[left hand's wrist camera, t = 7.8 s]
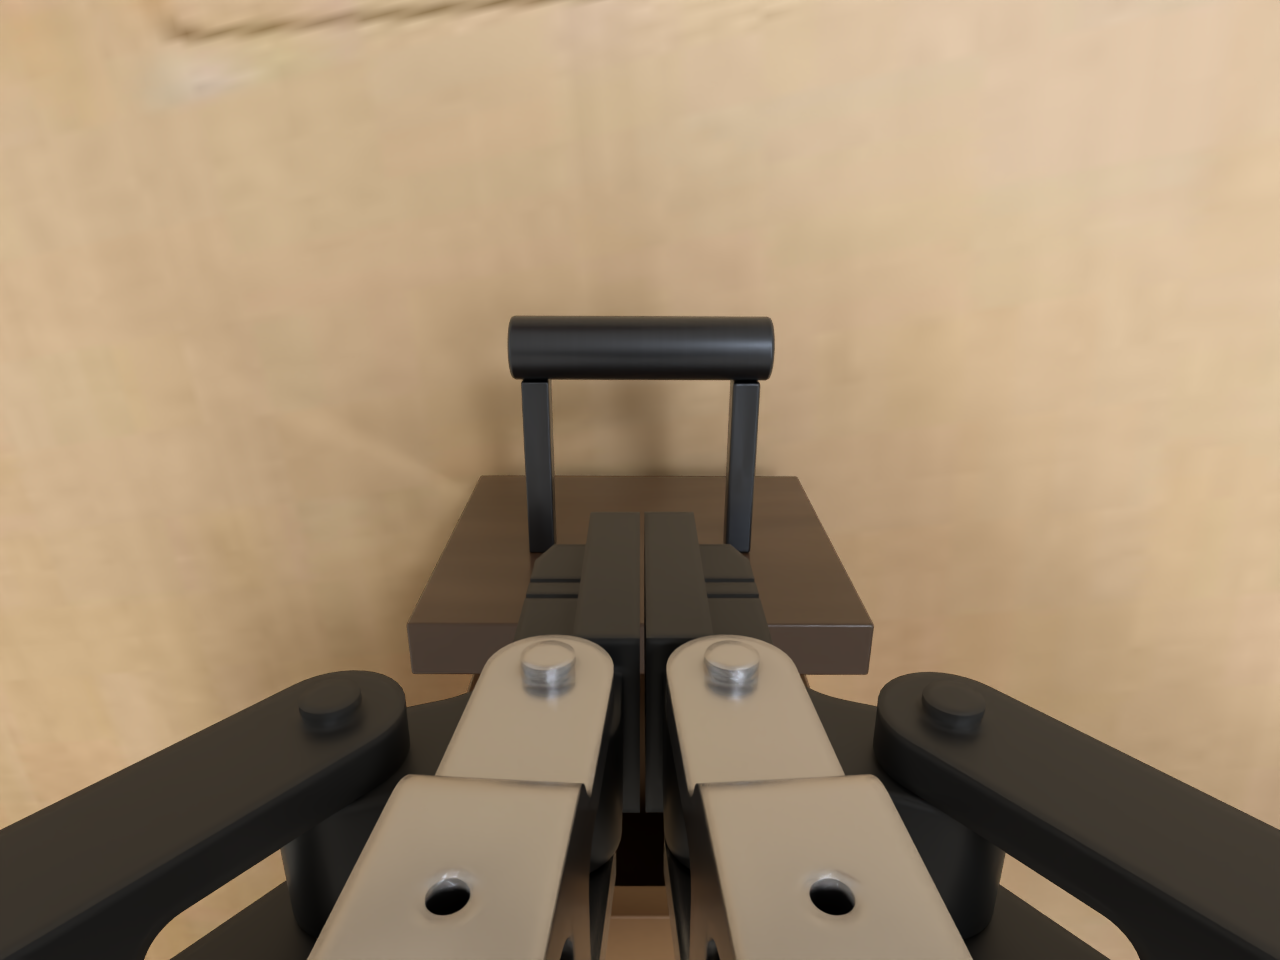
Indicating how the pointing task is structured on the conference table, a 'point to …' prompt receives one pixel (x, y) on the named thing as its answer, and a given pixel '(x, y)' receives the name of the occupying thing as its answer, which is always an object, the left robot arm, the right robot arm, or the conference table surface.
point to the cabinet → (639, 924)
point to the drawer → (561, 505)
